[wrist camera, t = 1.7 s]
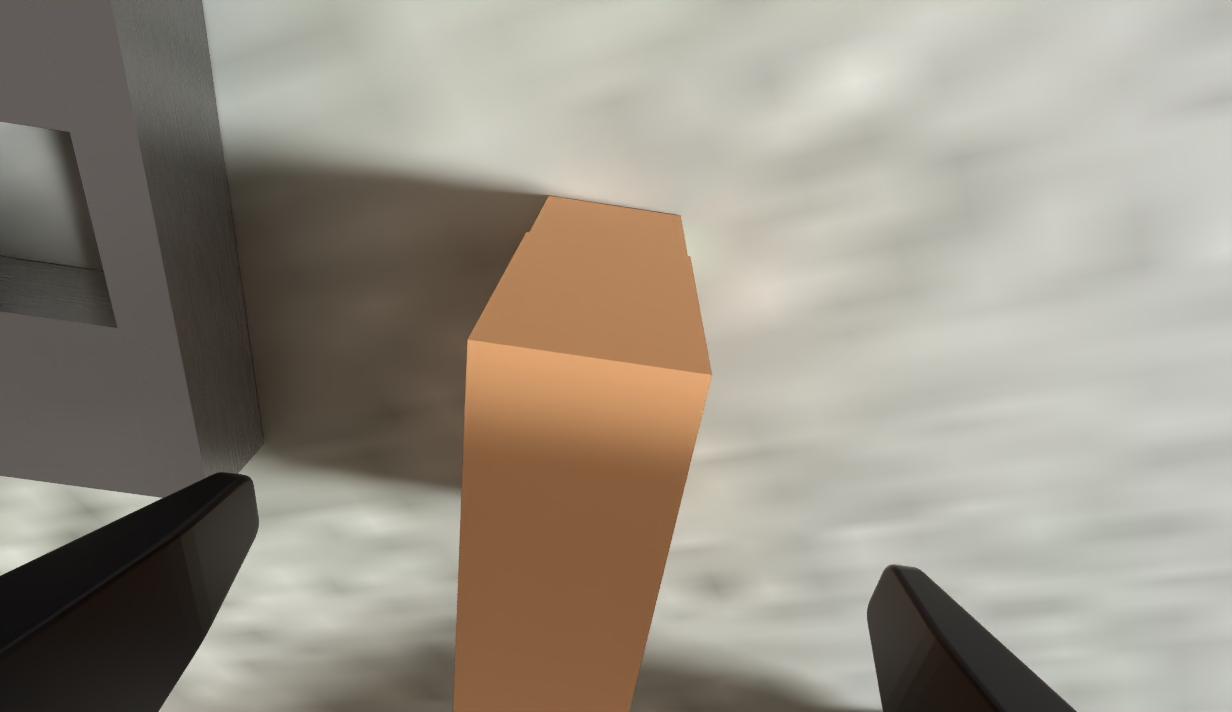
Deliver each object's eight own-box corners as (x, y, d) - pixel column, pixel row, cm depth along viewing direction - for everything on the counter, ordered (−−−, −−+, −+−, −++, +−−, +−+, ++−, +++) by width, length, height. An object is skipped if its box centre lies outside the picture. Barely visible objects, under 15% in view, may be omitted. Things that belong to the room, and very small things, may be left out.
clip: (623, 514, 15) (610, 787, 10) (520, 499, 15) (451, 767, 10) (681, 210, 12) (712, 374, 6) (549, 189, 12) (467, 339, 6)
